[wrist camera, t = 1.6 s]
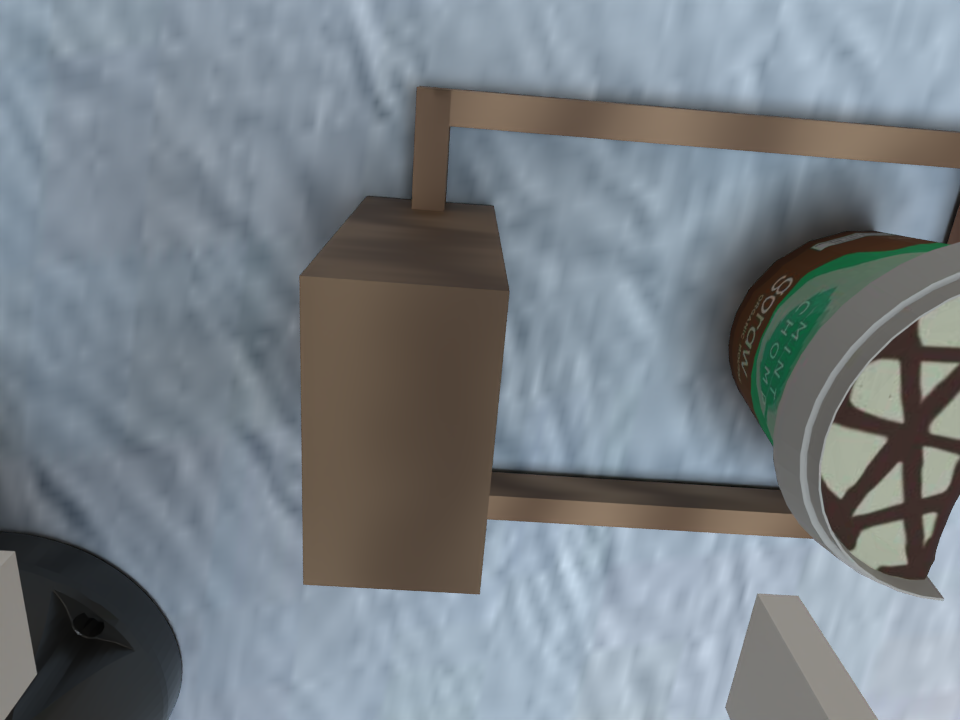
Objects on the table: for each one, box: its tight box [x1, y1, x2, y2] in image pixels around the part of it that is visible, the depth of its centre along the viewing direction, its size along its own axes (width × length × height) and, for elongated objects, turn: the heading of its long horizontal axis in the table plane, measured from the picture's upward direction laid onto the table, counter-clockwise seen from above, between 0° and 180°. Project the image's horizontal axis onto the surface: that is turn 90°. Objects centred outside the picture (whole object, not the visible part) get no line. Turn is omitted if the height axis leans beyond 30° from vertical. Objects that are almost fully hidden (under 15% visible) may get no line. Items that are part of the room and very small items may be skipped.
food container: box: [729, 231, 960, 601], centre depth 26 cm, size 12×6×10 cm, turn 175°
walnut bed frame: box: [299, 86, 960, 594], centre depth 25 cm, size 25×17×12 cm
